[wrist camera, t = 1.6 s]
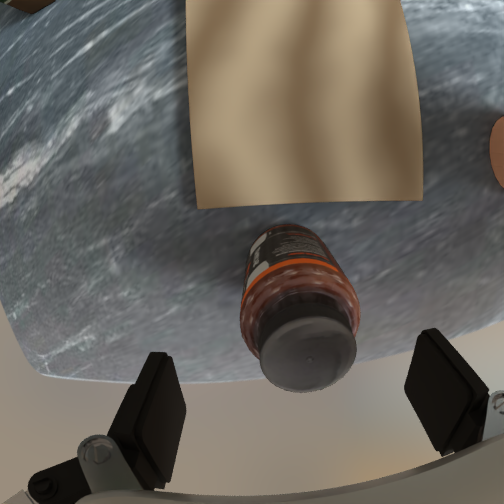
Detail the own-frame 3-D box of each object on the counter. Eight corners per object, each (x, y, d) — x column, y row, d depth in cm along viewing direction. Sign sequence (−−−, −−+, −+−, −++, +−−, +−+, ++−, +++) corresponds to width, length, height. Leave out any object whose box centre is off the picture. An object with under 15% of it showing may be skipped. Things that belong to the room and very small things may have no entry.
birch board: (392, -1, 15) (397, -7, 14) (415, 198, 20) (422, 200, 19) (189, -5, 16) (186, -12, 15) (201, 206, 21) (197, 209, 20)
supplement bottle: (233, 241, 22) (206, 324, 11) (311, 209, 21) (362, 265, 10) (265, 309, 23) (267, 421, 12) (337, 281, 22) (390, 379, 11)
